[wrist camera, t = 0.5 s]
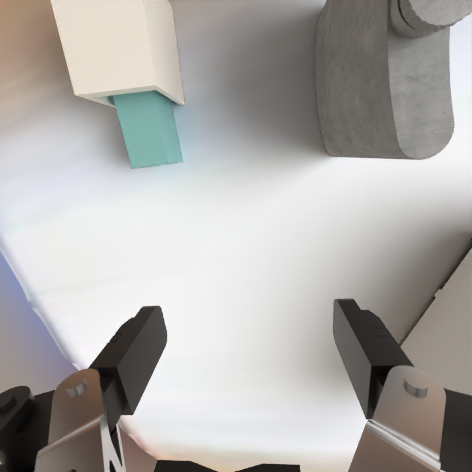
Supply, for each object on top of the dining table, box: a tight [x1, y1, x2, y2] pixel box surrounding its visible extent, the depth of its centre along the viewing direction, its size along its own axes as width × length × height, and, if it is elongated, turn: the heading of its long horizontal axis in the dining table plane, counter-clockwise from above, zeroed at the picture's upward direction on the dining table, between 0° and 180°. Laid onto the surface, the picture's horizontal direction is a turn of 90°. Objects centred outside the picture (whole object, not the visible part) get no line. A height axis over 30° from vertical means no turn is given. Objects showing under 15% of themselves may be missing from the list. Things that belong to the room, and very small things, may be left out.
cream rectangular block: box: [51, 0, 185, 108], centre depth 26 cm, size 10×8×10 cm
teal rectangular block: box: [112, 90, 183, 169], centre depth 29 cm, size 14×4×6 cm, turn 8°
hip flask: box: [314, 0, 472, 160], centre depth 20 cm, size 16×4×20 cm, turn 10°
